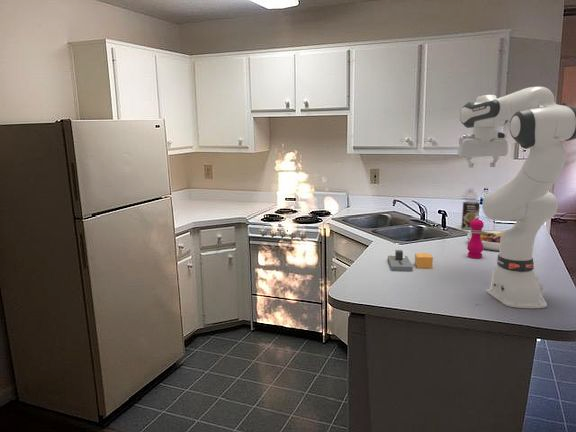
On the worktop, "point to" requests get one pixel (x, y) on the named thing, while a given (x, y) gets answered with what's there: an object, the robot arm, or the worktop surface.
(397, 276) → the worktop surface
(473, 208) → the coffee box
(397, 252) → the handle
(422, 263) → the orange block
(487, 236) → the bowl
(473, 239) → the pepper mill
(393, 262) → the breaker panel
